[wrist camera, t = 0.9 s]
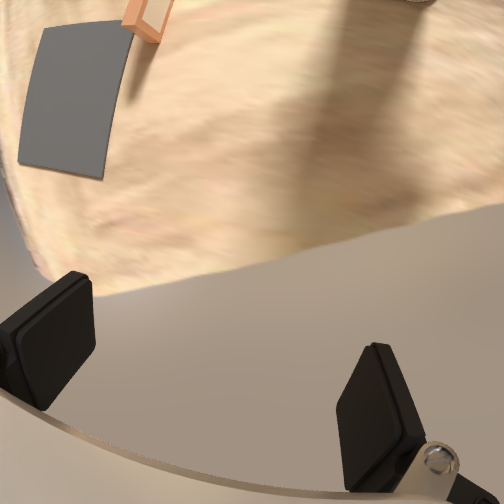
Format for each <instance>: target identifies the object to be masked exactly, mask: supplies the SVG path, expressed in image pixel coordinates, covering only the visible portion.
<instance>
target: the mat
mask: <svg viewBox="0 0 504 504" xmlns="http://www.w3.org/2000/svg"><path fill="white" fill-rule="evenodd" d="M121 23H122V20H114V21H99V22H88V23H79V24H70V25H63V26H56V27H50V28H44V31H43V34H42V37H41V40H40V44H39V47H38V51H37V54H36V58H35V62H34V65H33V69H32V74H31V78H30V82H29V87H28V92H27V97H26V102H25V107H24V113H23V120H22V126H21V134H20V142H19V151H18V161H17V162H19V163H25V164H30V165H36V166H42V167H47V168H52V169H58V170H63V171H68V172H73V173H79V174H84V175H89V176H94V177H99V178H103V176H104V168H105V161H106V155H107V148H108V142H109V136H110V131H111V125H112V120H113V115H114V110H115V106H116V101H117V97H118V92H119V88H120V84H121V80H122V76H123V72H124V68H125V64H126V60H127V57H128V53H129V50H130V46H131V43H132V40H133V37H134V33H132V32H131V31H129V30H128V29H126V28H124V27H123V26H121Z"/></svg>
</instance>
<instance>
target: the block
mask: <svg viewBox="0 0 504 504" xmlns="http://www.w3.org/2000/svg"><path fill="white" fill-rule="evenodd" d="M173 2H174V0H130V1H129V3H128V6H127V9H126V12H125V15H124V18H123V20H122V23H121V26H123V27H124V28H126V29H128V30H129V31H131V32H132V33H134V34H135V35H137V36H139V37H140V38H142V39H143V40H145V41H146V42H148V43H160V42H161V39H162V36H163V33H164V29H165V26H166V23H167V20H168V17H169V14H170V11H171V8H172V5H173Z"/></svg>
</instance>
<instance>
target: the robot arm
mask: <svg viewBox="0 0 504 504" xmlns="http://www.w3.org/2000/svg"><path fill="white" fill-rule="evenodd" d="M406 1H412V2H423V1H428V0H406ZM95 345H96V341H95V328H94V315H93V295H92V282H91V281H90V280H89V278H88V276H87V275H86V274H83V273H80V272H76V271H71V272H69V273H68V274H66V275H65V276H63V277H62V278H61V279H59V280H58V281H56V282H55V283H54V284H52V285H51V286H50V287H48V288H47V289H45V290H44V291H43V292H42V293H40V294H39V295H37V296H36V297H35V298H34V299H32V300H31V301H29V302H28V303H27V304H25V305H24V306H23V307H22V308H20V309H19V310H18V311H16V312H15V313H14V314H13V315H11V316H10V317H9V318H7V319H6V320H5V321H4V322H2V323H1V324H0V504H500V503H499V501H498V500H497V498H496V497H495V496H493V495H492V494H490V493H489V492H487V491H486V490H484V489H482V488H481V487H479V486H477V485H476V484H474V483H473V482H471V481H469V480H468V479H466V478H465V477H463V476H462V475H460V474H459V473H458V471H459V466H460V464H459V458H458V457H457V454H456V453H455V452H454V450H453V449H452V448H451V447H449V446H448V445H446V444H444V443H442V442H437V441H433V442H428V443H427V441H426V439H425V432H424V429H423V426H422V423H421V421H420V418H419V415H418V413H417V410H416V407H415V405H414V402H413V400H412V397H411V395H410V392H409V389H408V387H407V384H406V382H405V380H404V377H403V375H402V372H401V370H400V368H399V365H398V363H397V360H396V358H395V356H394V353H393V351H392V349H391V347H390V345H388V344H382V343H376V342H374V343H372V344H371V345H370V346H366V347H365V348H364V350H363V353H362V355H361V357H360V359H359V361H358V363H357V365H356V367H355V369H354V371H353V373H352V376H351V377H350V379H349V381H348V383H347V385H346V387H345V389H344V391H343V393H342V395H341V397H340V398H339V400H338V402H337V406H336V414H337V422H338V430H339V438H340V447H341V456H342V464H343V474H344V485H345V489H346V490H349V492H327V491H313V490H300V489H290V488H281V487H273V486H266V485H259V484H253V483H247V482H241V481H236V480H230V479H225V478H220V477H216V476H212V475H207V474H203V473H199V472H195V471H191V470H187V469H184V468H180V467H177V466H173V465H170V464H166V463H163V462H160V461H157V460H153V459H150V458H147V457H144V456H141V455H139V454H136V453H133V452H130V451H128V450H125V449H122V448H120V447H117V446H114V445H112V444H109V443H107V442H104V441H102V440H100V439H97V438H95V437H93V436H90V435H88V434H86V433H84V432H81V431H79V430H77V429H75V428H73V427H71V426H68V425H67V424H64V423H62V422H61V421H59V420H56V419H55V418H53V417H51V416H49V415H47V414H45V413H43V412H41V411H46V410H47V409H48V408H49V406H50V405H51V403H53V401H54V400H55V399H56V397H57V396H58V394H59V393H60V392H61V391H62V390H63V388H64V387H65V386H66V384H67V383H68V382H69V381H70V379H71V378H72V377H73V376H74V374H75V373H76V372H77V371H78V369H79V368H80V367H81V366H82V365H83V363H84V362H85V361H86V359H87V358H88V357H89V356H90V355H91V353H92V352H93V351H94V349H95Z"/></svg>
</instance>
